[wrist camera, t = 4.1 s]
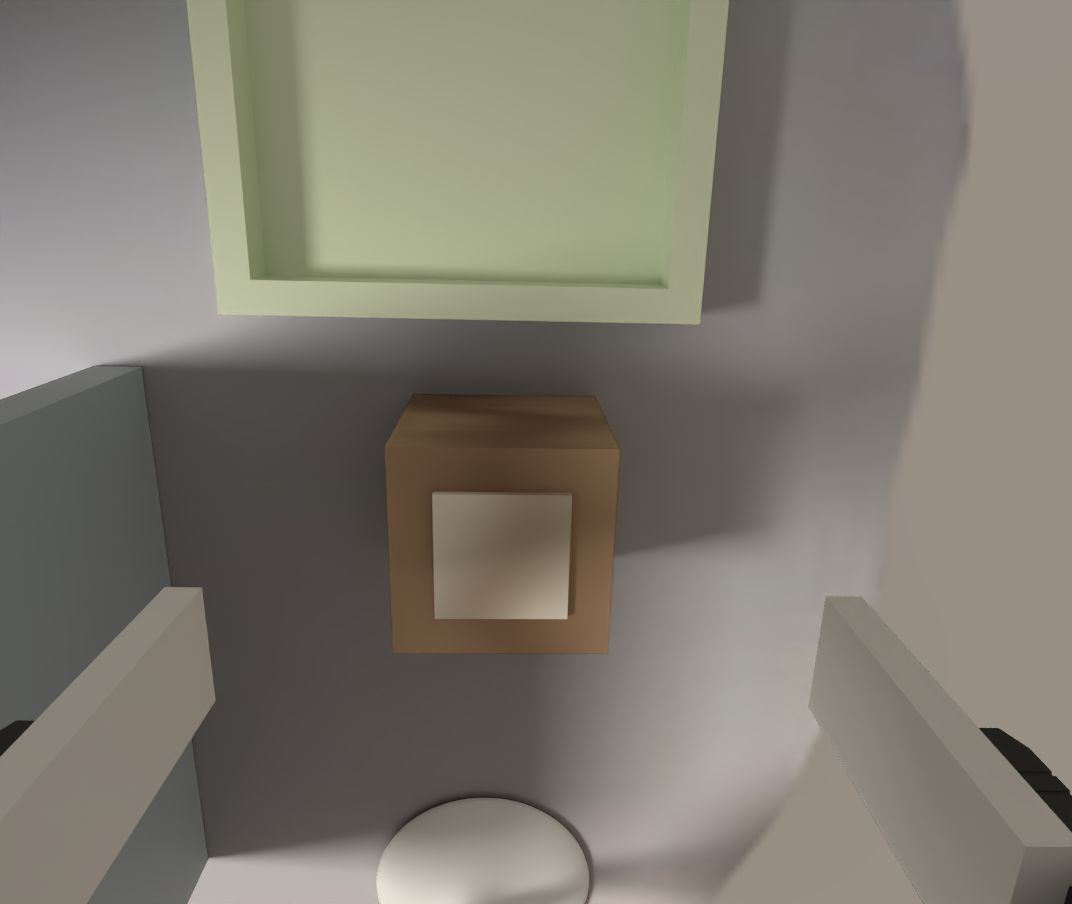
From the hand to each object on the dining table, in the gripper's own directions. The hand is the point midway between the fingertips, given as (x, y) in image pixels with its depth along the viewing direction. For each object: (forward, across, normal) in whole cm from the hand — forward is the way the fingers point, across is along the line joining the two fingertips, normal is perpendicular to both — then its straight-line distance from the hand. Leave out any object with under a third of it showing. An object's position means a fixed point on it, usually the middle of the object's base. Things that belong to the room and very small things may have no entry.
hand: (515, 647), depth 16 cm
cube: (+10, 0, 0) cm, 10 cm away
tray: (+10, -2, +13) cm, 16 cm away
